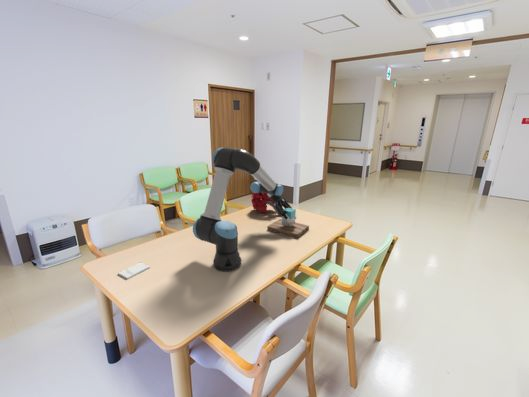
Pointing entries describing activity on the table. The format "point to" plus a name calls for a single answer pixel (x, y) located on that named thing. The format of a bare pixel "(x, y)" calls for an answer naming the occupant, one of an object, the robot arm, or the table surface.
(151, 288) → the table surface
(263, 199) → the bouquet
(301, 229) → the walnut stand
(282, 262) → the table surface
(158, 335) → the table surface
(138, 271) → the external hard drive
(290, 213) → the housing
